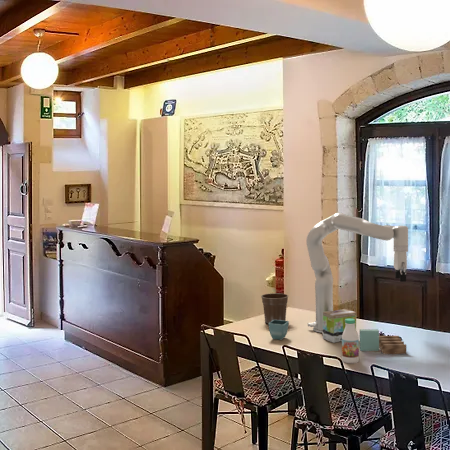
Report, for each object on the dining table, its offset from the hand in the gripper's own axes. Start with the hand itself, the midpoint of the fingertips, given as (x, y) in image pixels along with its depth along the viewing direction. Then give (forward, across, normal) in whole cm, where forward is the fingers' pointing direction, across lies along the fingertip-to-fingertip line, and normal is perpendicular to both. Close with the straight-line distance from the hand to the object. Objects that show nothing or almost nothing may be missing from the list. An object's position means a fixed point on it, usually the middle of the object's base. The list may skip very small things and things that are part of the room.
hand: (400, 279), depth 332 cm
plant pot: (+30, -27, -67) cm, 78 cm away
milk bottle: (+29, +49, -36) cm, 67 cm away
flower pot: (+30, +8, -67) cm, 73 cm away
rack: (+29, +30, -12) cm, 44 cm away
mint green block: (+29, +31, -23) cm, 49 cm away
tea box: (+30, +11, -35) cm, 47 cm away
